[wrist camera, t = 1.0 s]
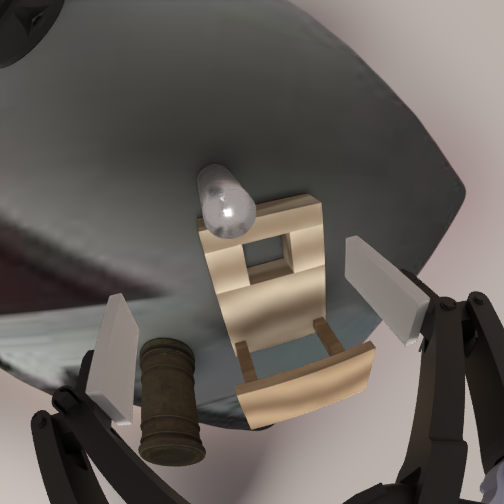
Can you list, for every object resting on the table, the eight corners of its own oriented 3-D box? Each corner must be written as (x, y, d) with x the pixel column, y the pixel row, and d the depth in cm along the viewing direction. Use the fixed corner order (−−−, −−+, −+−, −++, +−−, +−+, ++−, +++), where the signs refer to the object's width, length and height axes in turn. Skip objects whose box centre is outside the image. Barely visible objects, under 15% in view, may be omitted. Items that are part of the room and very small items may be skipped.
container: (141, 333, 39) (134, 440, 23) (199, 341, 41) (214, 445, 26) (138, 370, 42) (136, 464, 26) (189, 376, 45) (201, 468, 29)
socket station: (192, 220, 33) (201, 302, 19) (311, 192, 35) (390, 248, 20) (228, 340, 43) (251, 429, 29) (318, 314, 44) (365, 389, 30)
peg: (193, 168, 30) (197, 195, 20) (228, 160, 31) (251, 183, 20) (201, 201, 32) (210, 244, 22) (234, 193, 32) (259, 232, 22)
